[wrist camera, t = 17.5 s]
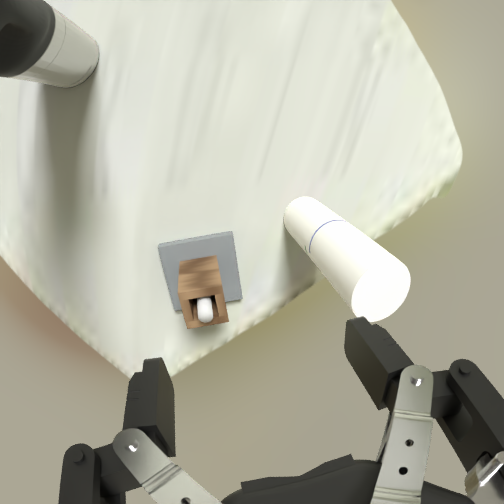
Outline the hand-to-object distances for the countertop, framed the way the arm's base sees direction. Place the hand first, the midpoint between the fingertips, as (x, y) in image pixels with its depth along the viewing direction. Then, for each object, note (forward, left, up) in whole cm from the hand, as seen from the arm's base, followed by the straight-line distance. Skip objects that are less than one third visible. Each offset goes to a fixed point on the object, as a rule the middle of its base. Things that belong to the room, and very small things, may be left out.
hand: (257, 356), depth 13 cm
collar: (+11, -10, -37) cm, 40 cm away
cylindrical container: (+14, +9, -38) cm, 42 cm away
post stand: (+11, -10, -38) cm, 41 cm away
